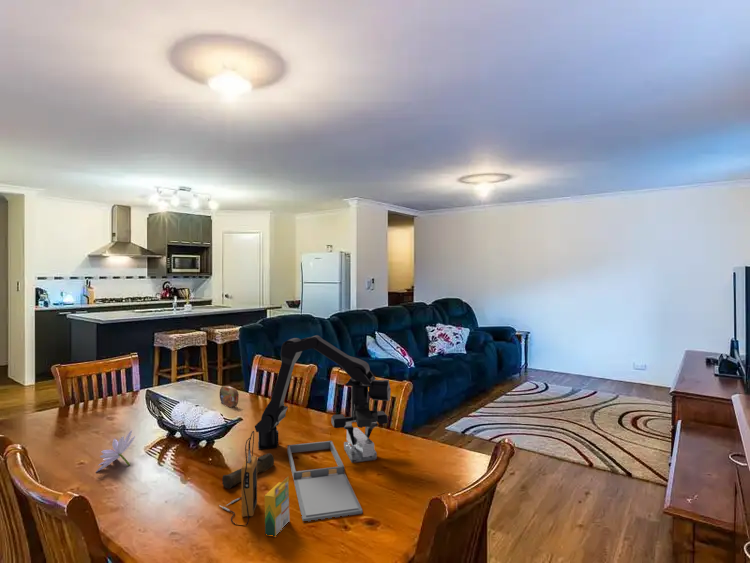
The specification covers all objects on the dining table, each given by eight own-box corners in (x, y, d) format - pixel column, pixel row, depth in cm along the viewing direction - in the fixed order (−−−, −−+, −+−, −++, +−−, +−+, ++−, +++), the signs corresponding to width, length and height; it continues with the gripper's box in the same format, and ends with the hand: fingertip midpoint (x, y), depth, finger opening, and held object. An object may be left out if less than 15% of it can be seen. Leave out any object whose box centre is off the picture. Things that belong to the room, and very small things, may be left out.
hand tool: (230, 491, 131) (230, 475, 131) (221, 487, 134) (221, 471, 134) (279, 468, 147) (279, 453, 147) (271, 464, 149) (271, 450, 149)
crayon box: (279, 519, 116) (279, 474, 116) (289, 521, 115) (289, 475, 115) (264, 535, 109) (263, 487, 109) (275, 537, 108) (275, 489, 108)
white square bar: (362, 457, 149) (362, 445, 148) (346, 439, 163) (346, 428, 163) (374, 455, 150) (374, 443, 150) (357, 438, 165) (357, 427, 165)
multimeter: (223, 498, 127) (222, 426, 126) (259, 496, 128) (259, 425, 127) (208, 528, 112) (207, 447, 112) (249, 526, 113) (249, 445, 113)
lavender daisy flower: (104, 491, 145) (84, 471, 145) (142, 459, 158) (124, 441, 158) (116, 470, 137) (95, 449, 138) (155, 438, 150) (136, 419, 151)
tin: (219, 402, 218) (218, 384, 217) (225, 400, 220) (225, 383, 219) (233, 409, 206) (233, 390, 206) (239, 407, 209) (239, 389, 208)
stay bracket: (351, 462, 150) (351, 455, 150) (344, 448, 161) (344, 442, 161) (376, 459, 152) (376, 452, 152) (367, 446, 164) (367, 439, 164)
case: (302, 522, 115) (302, 512, 115) (287, 452, 158) (287, 445, 158) (362, 513, 119) (362, 503, 119) (331, 447, 162) (331, 440, 162)
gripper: (337, 407, 146) (337, 456, 146) (393, 403, 151) (392, 450, 152) (331, 398, 157) (331, 443, 157) (383, 394, 162) (383, 438, 162)
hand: (359, 444), depth 157 cm, fingers closed on white square bar, 4 cm apart
